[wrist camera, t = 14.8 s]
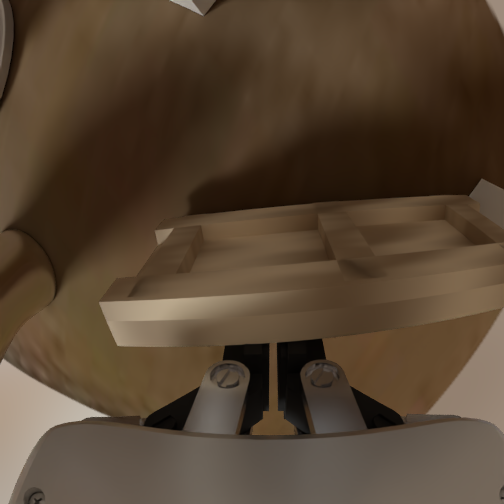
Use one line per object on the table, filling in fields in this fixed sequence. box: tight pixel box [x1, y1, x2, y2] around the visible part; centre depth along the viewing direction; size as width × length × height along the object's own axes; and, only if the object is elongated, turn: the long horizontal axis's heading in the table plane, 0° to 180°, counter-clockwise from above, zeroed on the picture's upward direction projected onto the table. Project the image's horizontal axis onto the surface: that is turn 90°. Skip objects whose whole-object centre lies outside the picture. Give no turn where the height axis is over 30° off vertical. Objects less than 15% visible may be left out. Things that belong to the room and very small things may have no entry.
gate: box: [99, 195, 504, 347], centre depth 11 cm, size 15×2×7 cm, turn 97°
